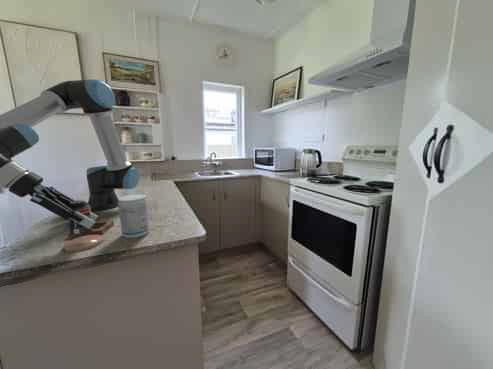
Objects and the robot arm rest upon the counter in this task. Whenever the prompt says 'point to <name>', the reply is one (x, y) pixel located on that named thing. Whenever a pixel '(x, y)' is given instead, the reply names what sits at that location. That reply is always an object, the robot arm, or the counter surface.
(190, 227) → the counter surface
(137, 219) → the supplement tub
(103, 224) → the holder
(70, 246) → the peach dome coaster
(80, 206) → the supplement bottle
